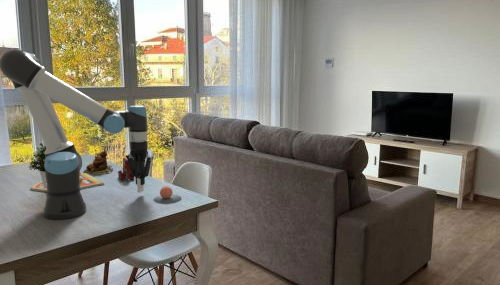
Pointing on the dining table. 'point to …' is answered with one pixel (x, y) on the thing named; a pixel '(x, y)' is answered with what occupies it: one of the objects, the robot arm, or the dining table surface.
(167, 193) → the ball
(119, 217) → the dining table surface
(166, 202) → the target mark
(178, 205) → the dining table surface
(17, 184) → the dining table surface
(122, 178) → the toy fire truck
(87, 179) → the knob puzzle
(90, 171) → the bear figurine
